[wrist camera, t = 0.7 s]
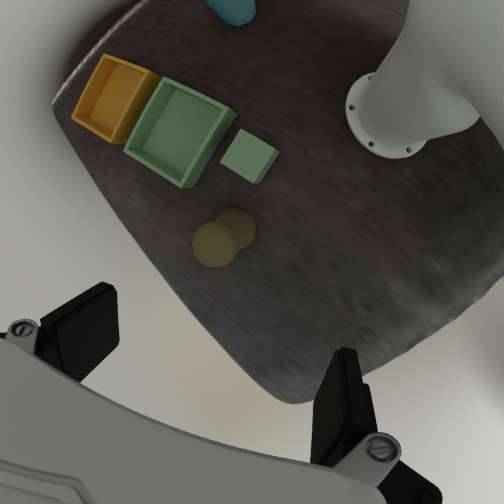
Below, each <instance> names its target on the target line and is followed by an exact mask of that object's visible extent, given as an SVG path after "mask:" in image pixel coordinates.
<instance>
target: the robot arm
mask: <svg viewBox="0 0 504 504" xmlns="http://www.w3.org/2000/svg"><path fill="white" fill-rule="evenodd" d="M368 79H371V80H370V81H369V80H368ZM349 107H352V108H353V110H350V109H349ZM345 112H346V118H347V122H348V125H349V127H350V129H351V131H352V133H353V134H354V136H355V138H356V139H357V140H358V141H359V142H360V143H361V144H362V145H363V146H364V147H365V148H366V149H368V150H369V151H371V152H373V153H374V154H376V155H379V156H382V157H385V158H391V159H396V158H404V157H408V156H411V155H413V154H414V153H416V152H417V151H419V150H420V149H421V148H422V147H423V146H424V144H425V143H426V141H427V140H428V139H432V138H436V137H441V136H445V135H449V134H452V133H456V132H460V131H463V130H465V129H467V128H469V127H470V126H472V125H473V124H474V123H475V122H476V121H477V120H478V118H479V117H480V116H481V118H482V119H483V121H484V122H485V123H486V125H487V126H488V127H489V128H490V129H491V131H492V132H493V134H494V135H495V137H496V139H497V140H498V142H499V143H500V145H501V147H502V148H503V150H504V0H410V1H409V6H408V12H407V17H406V21H405V24H404V27H403V30H402V32H401V34H400V36H399V37H398V39H397V41H396V42H395V44H394V45H393V47H392V48H391V50H390V51H389V53H388V54H387V56H386V57H385V59H384V60H383V62H382V63H381V65H380V66H379V68H378V69H377V71H376V72H374V73H369V74H367V75H365V76H362V77H361V78H360V79H358V80H357V81H356V82H355V83H354V84H353V86H352V87H351V89H350V91H349V93H348V96H347V98H346V104H345ZM369 143H371V144H372V146H369ZM406 149H408V152H407V151H406ZM40 322H41V326H39V327H38V325H37V323H36V322H35V321H33V320H30V319H20V320H17V321H15V322H13V323H12V324H11V325H10V326H9V328H8V331H7V333H0V504H442V499H443V497H442V493H441V491H440V490H439V488H438V487H436V486H435V485H434V484H433V483H431V482H430V481H428V480H427V479H425V478H424V477H423V476H421V475H420V474H418V473H417V472H415V471H414V470H413V469H411V468H410V467H409V466H407V465H406V464H404V463H403V462H402V461H400V460H399V458H400V456H401V446H400V444H399V443H398V441H397V440H396V439H395V438H394V437H393V436H391V435H388V434H387V433H382V432H378V429H377V423H376V418H375V413H374V408H373V402H372V398H371V392H370V387H369V385H368V384H365V383H363V380H362V375H361V370H360V365H359V360H358V356H357V351H356V349H351V348H346V347H341V349H340V350H335V352H334V355H333V357H332V360H331V362H330V364H329V367H328V369H327V372H326V374H325V376H324V379H323V381H322V383H321V385H320V388H319V390H318V392H317V394H316V396H315V399H314V403H313V423H312V442H311V458H310V463H307V462H302V461H297V460H291V459H287V458H281V457H276V456H272V455H267V454H262V453H258V452H254V451H250V450H246V449H242V448H238V447H234V446H231V445H226V444H223V443H220V442H216V441H213V440H210V439H207V438H204V437H200V436H197V435H194V434H191V433H188V432H186V431H182V430H180V429H177V428H175V427H172V426H169V425H167V424H164V423H162V422H159V421H156V420H154V419H152V418H149V417H147V416H145V415H142V414H140V413H138V412H135V411H133V410H131V409H129V408H127V407H125V406H123V405H120V404H119V403H116V402H114V401H112V400H110V399H108V398H106V397H105V396H103V395H101V394H99V393H96V392H95V391H93V390H91V389H89V388H88V387H86V386H84V385H82V384H81V383H80V382H81V381H82V380H83V379H84V378H85V377H86V376H87V375H88V374H89V373H90V372H91V371H92V370H93V369H94V368H95V367H97V365H98V364H100V362H102V360H104V359H105V358H106V357H107V356H108V355H109V354H110V353H111V352H112V351H113V350H114V349H115V348H116V347H117V346H118V344H119V325H118V305H117V291H116V290H115V288H114V286H113V285H111V284H108V283H105V282H100V283H98V284H96V285H95V286H93V287H92V288H90V289H88V290H86V291H85V292H83V293H82V294H80V295H78V296H76V297H75V298H73V299H71V300H70V301H68V302H67V303H65V304H63V305H62V306H60V307H59V308H57V309H55V310H54V311H52V312H50V313H49V314H47V315H46V316H44V317H43V318H41V319H40Z"/></svg>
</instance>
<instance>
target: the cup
mask: <svg viewBox="0 0 504 504" xmlns="http://www.w3.org/2000/svg"><path fill="white" fill-rule="evenodd" d="M205 1H206V2H207V3H208V4H209V5H210V6H211V7H212V8H213V9H214V10H215V11H216V12H217V13H218V15H219V16H220V17H221V18H222V19H223V20H224V21H225V22H226V24H231V25H235V26H240V25H243V24H246V23H248V22H251V21H252V19H253V17H254V16H255V14H256V7H255V2H254V0H205Z"/></svg>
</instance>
